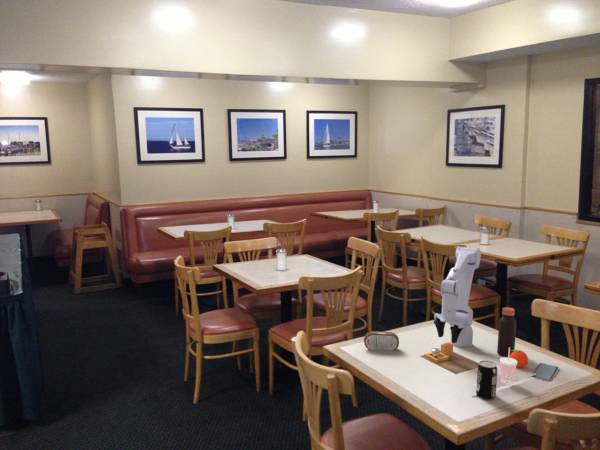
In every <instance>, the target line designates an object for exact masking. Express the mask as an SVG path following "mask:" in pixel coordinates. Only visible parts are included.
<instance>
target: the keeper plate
mask: <svg viewBox="0 0 600 450" xmlns="http://www.w3.org/2000/svg"><path fill="white" fill-rule="evenodd" d="M440 353H441V350H440ZM419 357H420V358H422V359H425V360H427V362H430V363H432V364H434V365H436V366H439V367H440V368H443V369H444V370H447V371H448V372H450V373H453V374H454V375H458V374H461V373H465V372H468V371H471V370H475V369H478V365H479V362H477V361H475V360H473V359H470V358H469V357H466V356H464V355H462V354H460V353H457V352H455V351H453V355H451V356H449V359H448V360H445V361H441V362H437V363H436V362H434V361H432V360H430V359H428V358H426V357H424V354H423V355H419ZM438 358H441V357H440V356H438Z"/></svg>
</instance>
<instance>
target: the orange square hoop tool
mask: <svg viewBox="0 0 600 450" xmlns="http://www.w3.org/2000/svg"><path fill="white" fill-rule="evenodd" d="M440 351H441V353H440V352H439V353H438V356H440V357H441V358H435V357H433V356H432V352H427V353H424V354H423V355H424V357H426V358H428V359H430V360H432V361H434V362H436V363H437V362H441V361H445V360H448V359H449V356H451V355H453V352H454V346H453V343H451V342H450V341H449V342H445V343H441V344H440Z"/></svg>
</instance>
